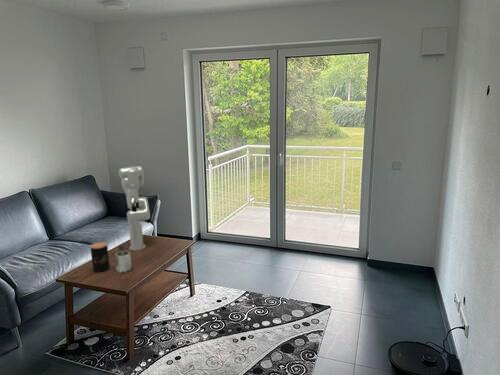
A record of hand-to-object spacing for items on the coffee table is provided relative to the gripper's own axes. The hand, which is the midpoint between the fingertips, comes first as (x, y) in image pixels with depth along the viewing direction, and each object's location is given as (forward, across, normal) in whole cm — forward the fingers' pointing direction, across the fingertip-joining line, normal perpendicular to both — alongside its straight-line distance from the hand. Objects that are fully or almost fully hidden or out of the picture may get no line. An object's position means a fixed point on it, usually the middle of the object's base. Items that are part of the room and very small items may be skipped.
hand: (135, 209), depth 270 cm
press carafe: (+38, +17, -8) cm, 42 cm away
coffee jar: (+38, +14, -24) cm, 47 cm away
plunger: (+34, +18, -8) cm, 39 cm away
